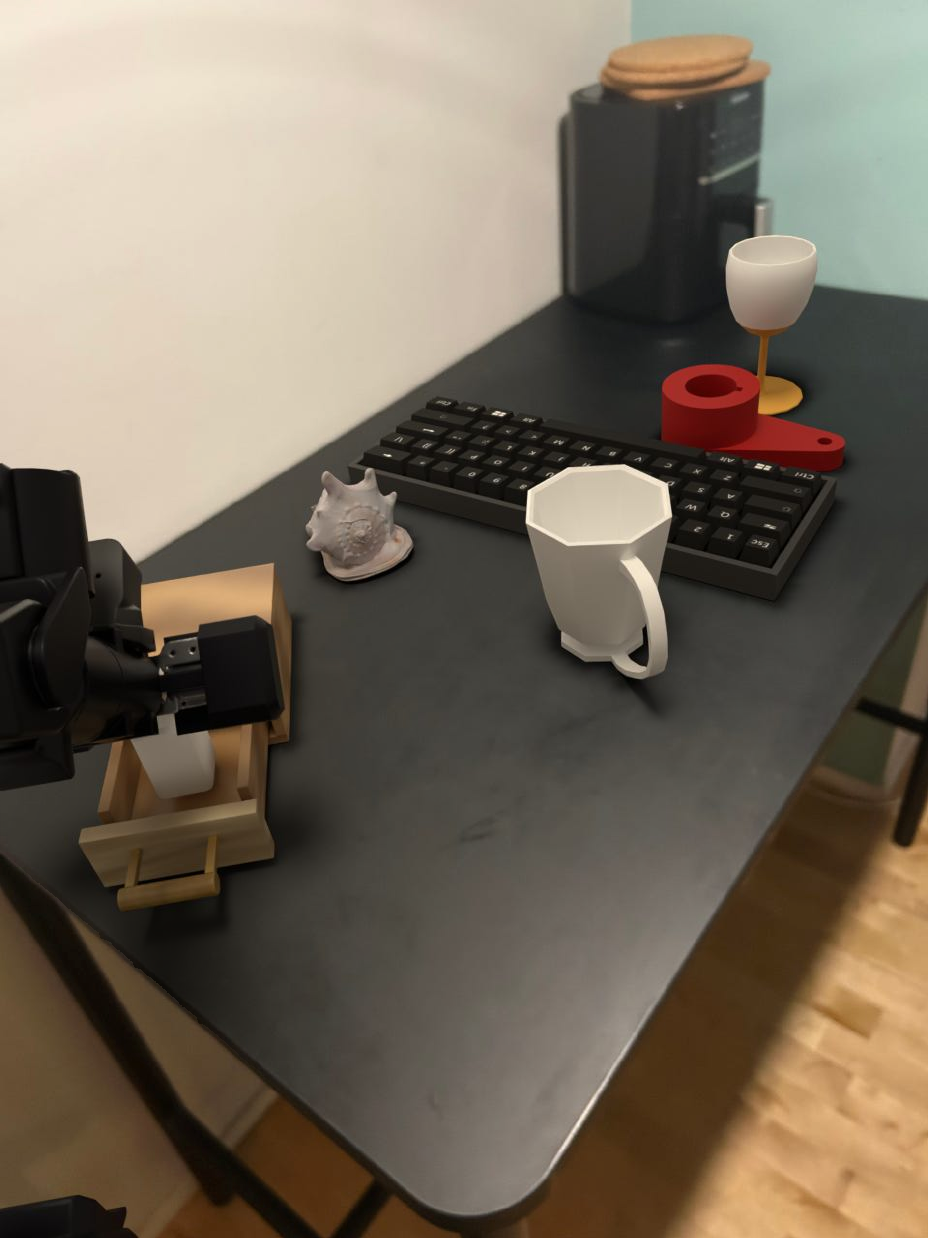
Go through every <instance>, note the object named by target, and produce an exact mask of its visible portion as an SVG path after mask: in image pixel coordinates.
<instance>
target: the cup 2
mask: <svg viewBox="0 0 928 1238" xmlns="http://www.w3.org/2000/svg"><path fill="white" fill-rule="evenodd" d="M817 273H818V251H817V248H816V245H815V244H814V243H813V242H811V241H809V240H808V239H805V238H801V237H797V236H795V235H781V234H780V235H779V234H774V235H773V234H772V235H759V236H755V237H750V238H745V239H743V240H741V241H738V242H736V243H735V244H733V246H732V247H730V248H729V250H728V254H727V259H726V264H725V288H726V294H727V301H728V304H729V309H730V311H731V313H732V315H733V318H734V320H735V322H736V323H738V325H740V326H741V327H742V328H743V329H744V330H745V331H746V332H748V333H749V334H751V335H754V336H758V337H759V338H760V340H759V341H760V343H759V352H758V361H757V362H758V363H757V374H756V375H755V376H756V377H757V378H758V380H759V382H760V395H759V407H758V413H760V414H763V415H767V416H774V415H780V414H785V413H787V412H789V411H791V410H793V409H794V408H796V407H798V406H799V405H800V403H801V402H802V400H803V399H804V397H803V392H802V389H801V388H800V387H799V386H798V385H796V384H795V383H794V381H793V382H792V381H790V380H788V379H784V378H781V377H776V376H772V375H771V376H770V375H766V371H767V361H768V360H767V359H768V351H769V350H768V349H769V339H770V337H771V336H775V335H776V336H777V335H779V334H781V333H783V332H785V331H786V330H787V329H789V328H790V327H791V326H792V325H795V323H796V322H797V321H798V319H799V318H800V316H801V315H802V313H803V312H804V310H805V308H806V307H807V305H808V303H809V300H810V298H811V295H812V292H813V290H814V288H815V283H816V277H817Z"/></svg>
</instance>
